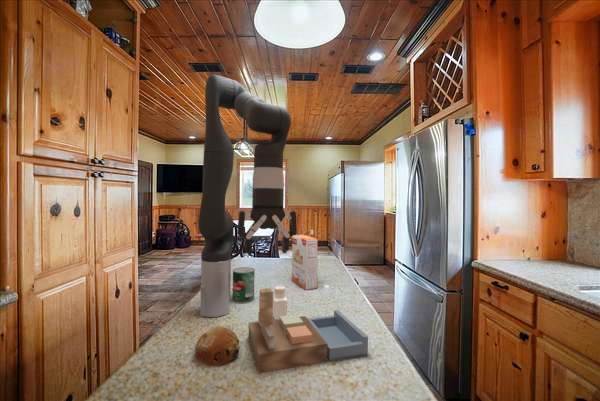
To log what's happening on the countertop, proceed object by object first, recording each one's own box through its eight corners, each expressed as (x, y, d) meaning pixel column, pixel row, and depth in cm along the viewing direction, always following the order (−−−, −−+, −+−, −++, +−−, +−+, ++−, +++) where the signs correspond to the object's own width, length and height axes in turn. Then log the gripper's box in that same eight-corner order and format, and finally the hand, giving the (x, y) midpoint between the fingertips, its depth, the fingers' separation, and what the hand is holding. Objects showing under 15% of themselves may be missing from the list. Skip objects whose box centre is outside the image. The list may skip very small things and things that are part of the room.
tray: (329, 361, 67) (329, 342, 67) (305, 329, 83) (306, 313, 83) (367, 355, 70) (368, 336, 70) (337, 324, 86) (337, 309, 86)
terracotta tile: (291, 344, 66) (292, 337, 66) (286, 334, 71) (286, 327, 71) (312, 341, 68) (312, 334, 68) (305, 331, 73) (305, 325, 73)
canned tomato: (228, 302, 103) (228, 271, 102) (238, 294, 110) (238, 266, 110) (248, 304, 101) (249, 273, 101) (257, 297, 108) (257, 267, 108)
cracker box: (290, 281, 129) (291, 234, 129) (302, 279, 132) (303, 234, 132) (304, 290, 117) (305, 239, 116) (317, 288, 119) (318, 238, 119)
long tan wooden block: (265, 350, 63) (266, 300, 63) (255, 323, 77) (255, 282, 77) (277, 348, 64) (278, 299, 64) (265, 322, 78) (266, 281, 77)
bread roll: (227, 355, 75) (220, 324, 77) (251, 351, 69) (242, 317, 71) (192, 373, 67) (185, 337, 69) (216, 370, 61) (207, 331, 63)
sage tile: (284, 330, 73) (284, 324, 73) (279, 322, 78) (279, 316, 78) (303, 328, 75) (303, 322, 75) (297, 320, 79) (297, 314, 79)
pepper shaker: (274, 321, 88) (274, 290, 88) (272, 315, 92) (272, 286, 91) (287, 319, 89) (287, 289, 89) (284, 314, 93) (284, 285, 92)
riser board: (258, 372, 62) (258, 354, 62) (248, 337, 77) (248, 322, 77) (327, 360, 67) (327, 343, 67) (304, 330, 82) (305, 316, 82)
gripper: (291, 188, 76) (290, 249, 76) (236, 186, 71) (235, 252, 72) (300, 187, 69) (299, 255, 69) (240, 185, 64) (239, 258, 65)
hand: (267, 253), depth 70 cm, fingers open, 8 cm apart
